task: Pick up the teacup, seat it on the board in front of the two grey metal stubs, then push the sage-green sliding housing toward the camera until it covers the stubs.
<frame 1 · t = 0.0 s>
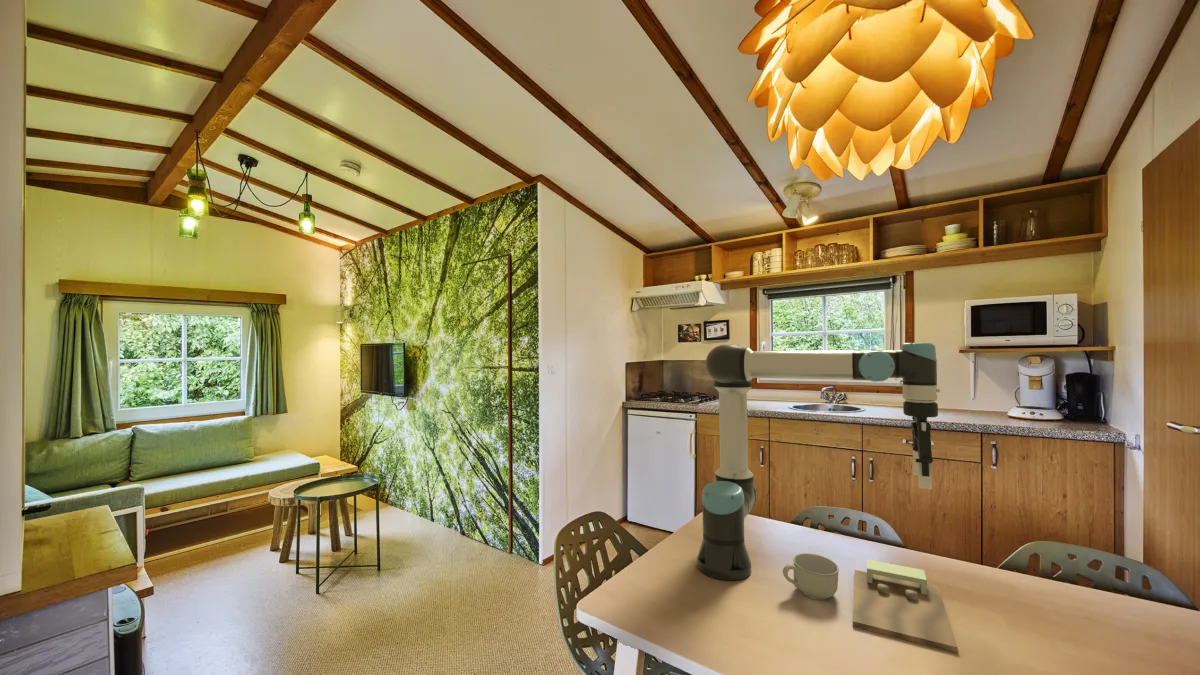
hand: (922, 481, 121), 28 cm above the table, fingers open, 13 cm apart
housing: (895, 576, 121), point 3 cm above the table, slide at 0.0 cm
board: (898, 607, 112), on the table
teacup: (809, 594, 119), on the table
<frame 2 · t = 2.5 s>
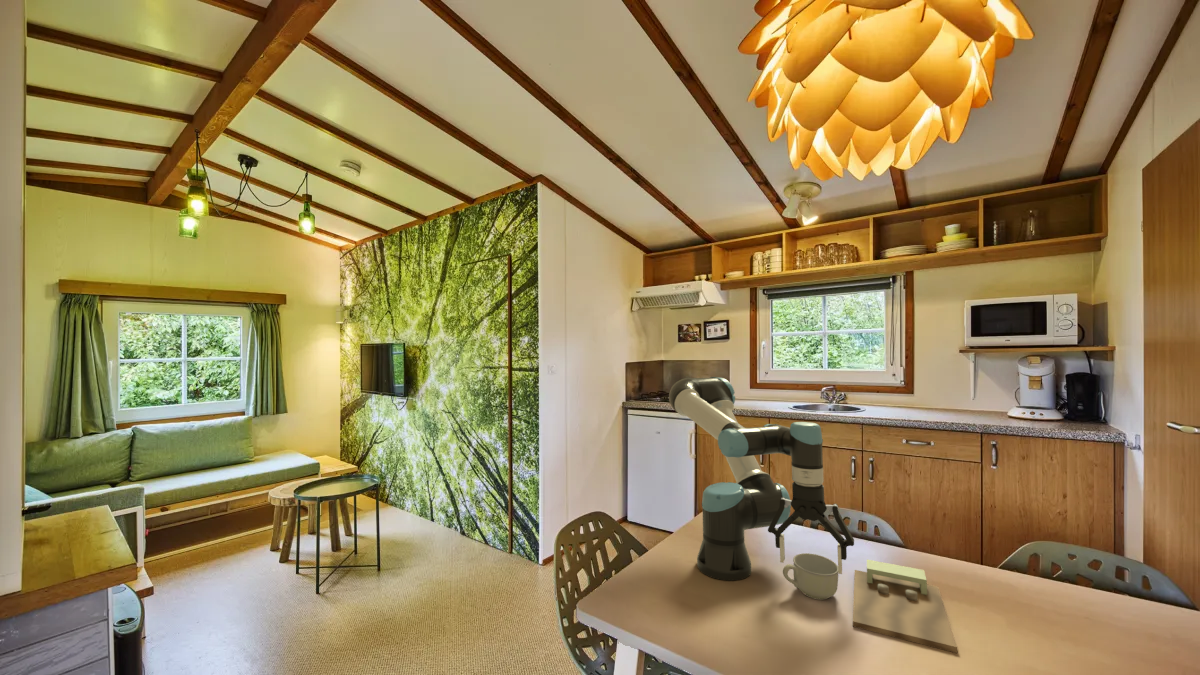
hand: (810, 566, 119), 7 cm above the table, fingers open, 13 cm apart
teacup: (809, 594, 119), on the table, touching gripper
everything else where it was.
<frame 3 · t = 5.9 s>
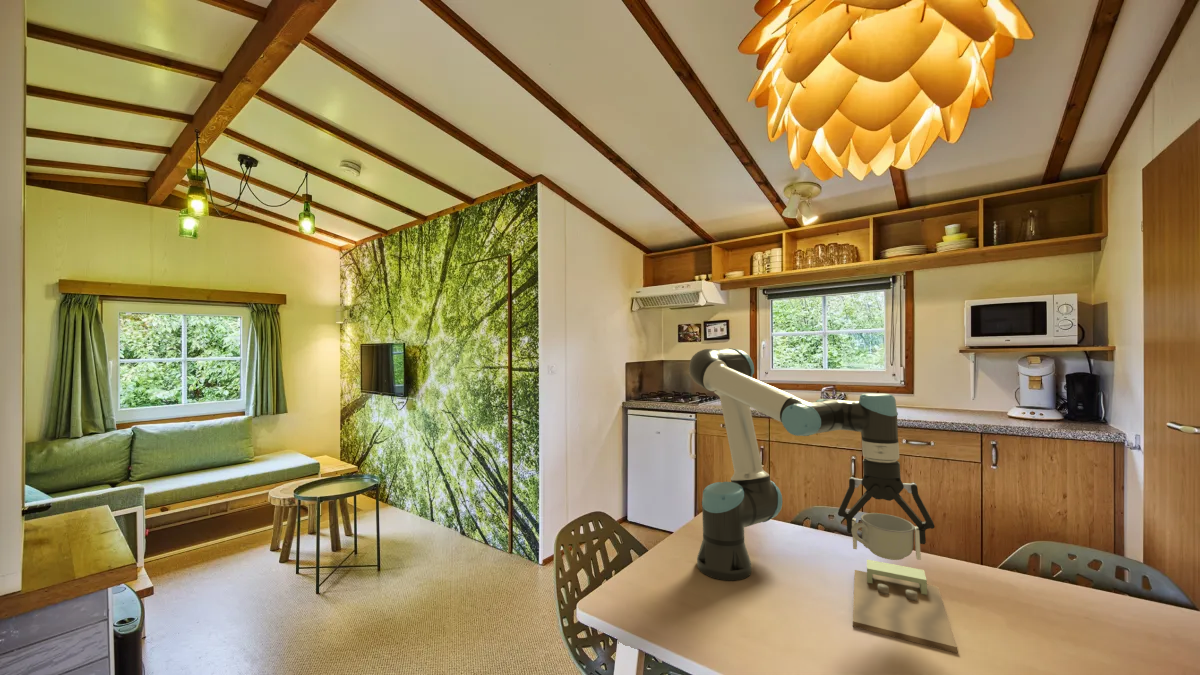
hand: (885, 552, 108), 15 cm above the table, fingers closed on teacup, 12 cm apart
teacup: (881, 555, 109), point 14 cm above the table, touching gripper
everything else where it was.
when the fingers open (2 cm above the table, at t = 8.7 s): teacup stays where it is, resting on board.
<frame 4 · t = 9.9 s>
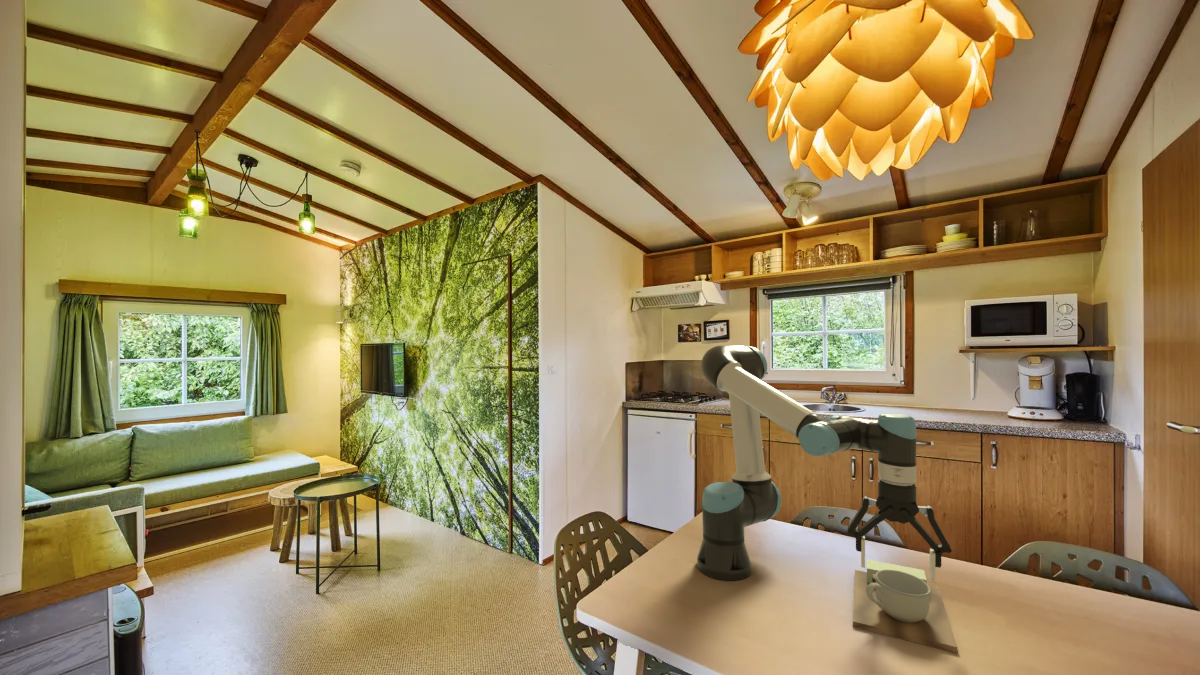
hand: (896, 572, 107), 11 cm above the table, fingers open, 13 cm apart
teacup: (895, 615, 107), point 1 cm above the table, touching board
everything else where it was.
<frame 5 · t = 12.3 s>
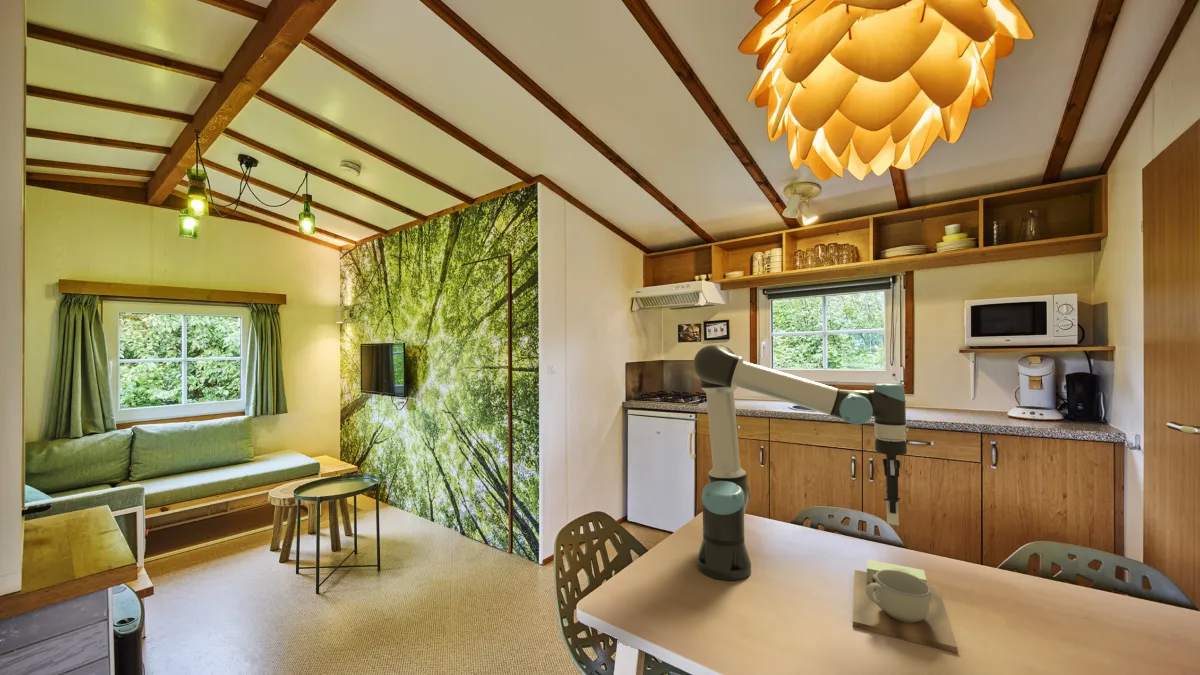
hand: (892, 523, 128), 14 cm above the table, fingers closed
nothing on the table moved.
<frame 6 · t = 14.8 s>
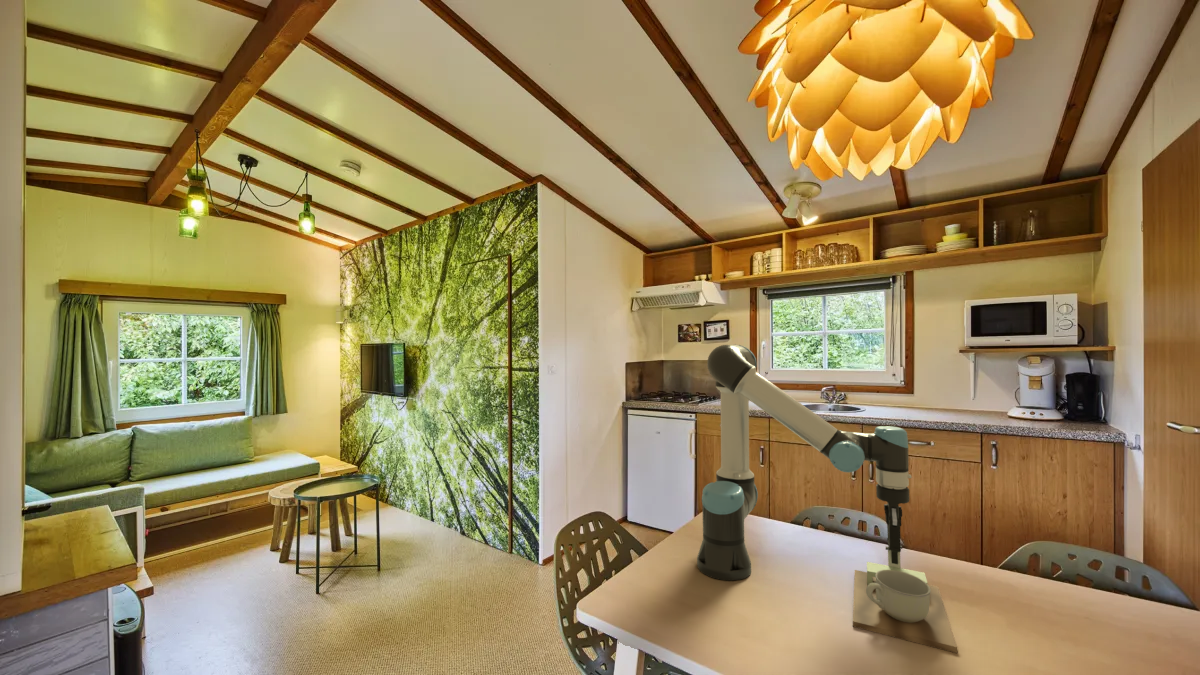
hand: (894, 573, 123), 3 cm above the table, fingers closed
housing: (895, 578, 120), point 3 cm above the table, slide at 1.6 cm, touching gripper
everything else where it was.
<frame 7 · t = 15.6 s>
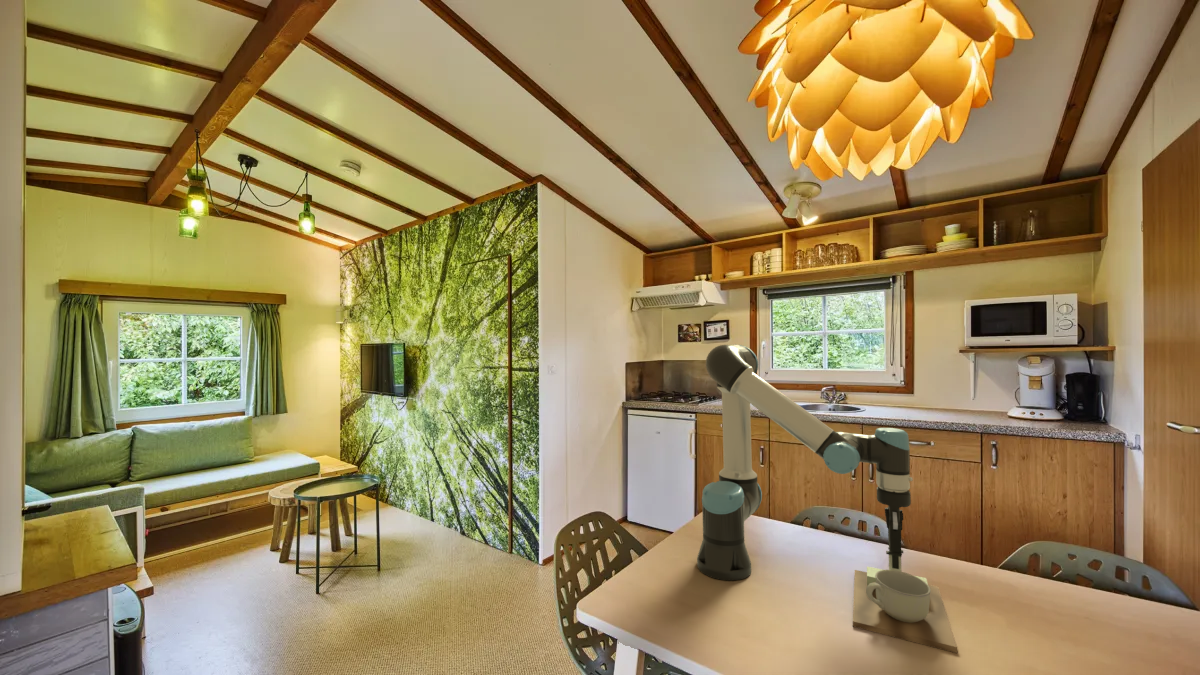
hand: (895, 578, 120), 3 cm above the table, fingers closed
housing: (896, 584, 117), point 3 cm above the table, slide at 4.8 cm, touching gripper
everything else where it was.
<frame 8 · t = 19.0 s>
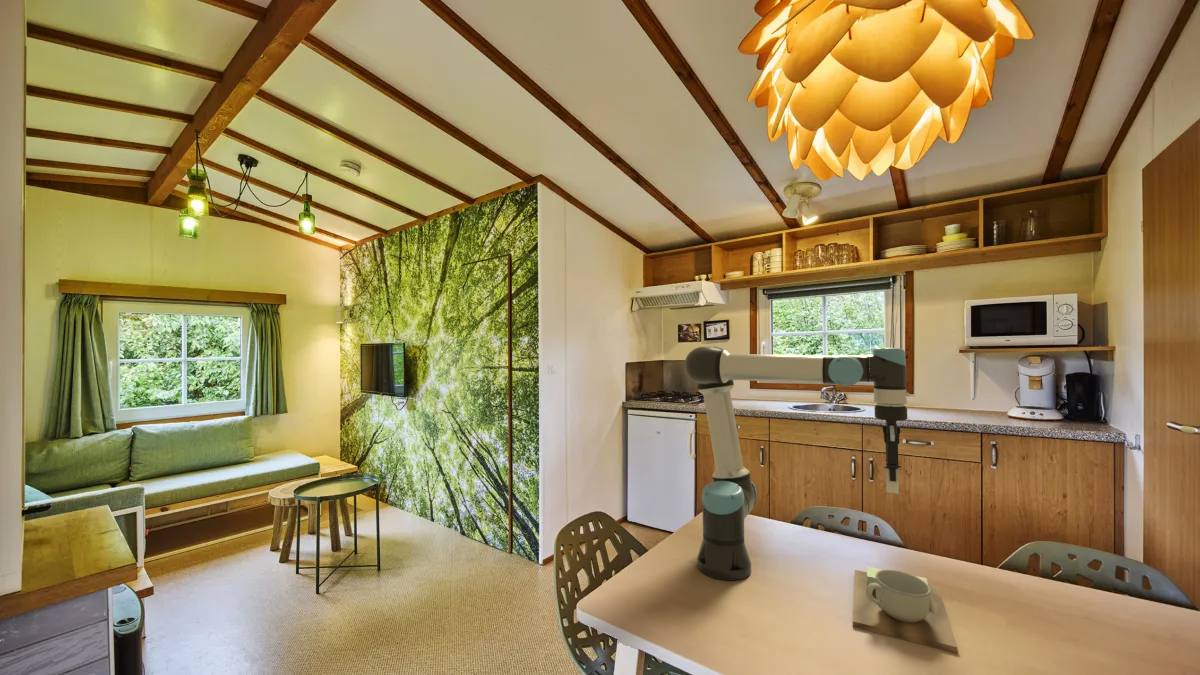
hand: (892, 492, 124), 24 cm above the table, fingers closed
housing: (896, 584, 117), point 3 cm above the table, slide at 4.9 cm
everything else where it was.
at the end: teacup inside the target area (0.9 cm from its centre), point 1.0 cm above the table; teacup tilted 0°; housing slide at 4.9 cm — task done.
